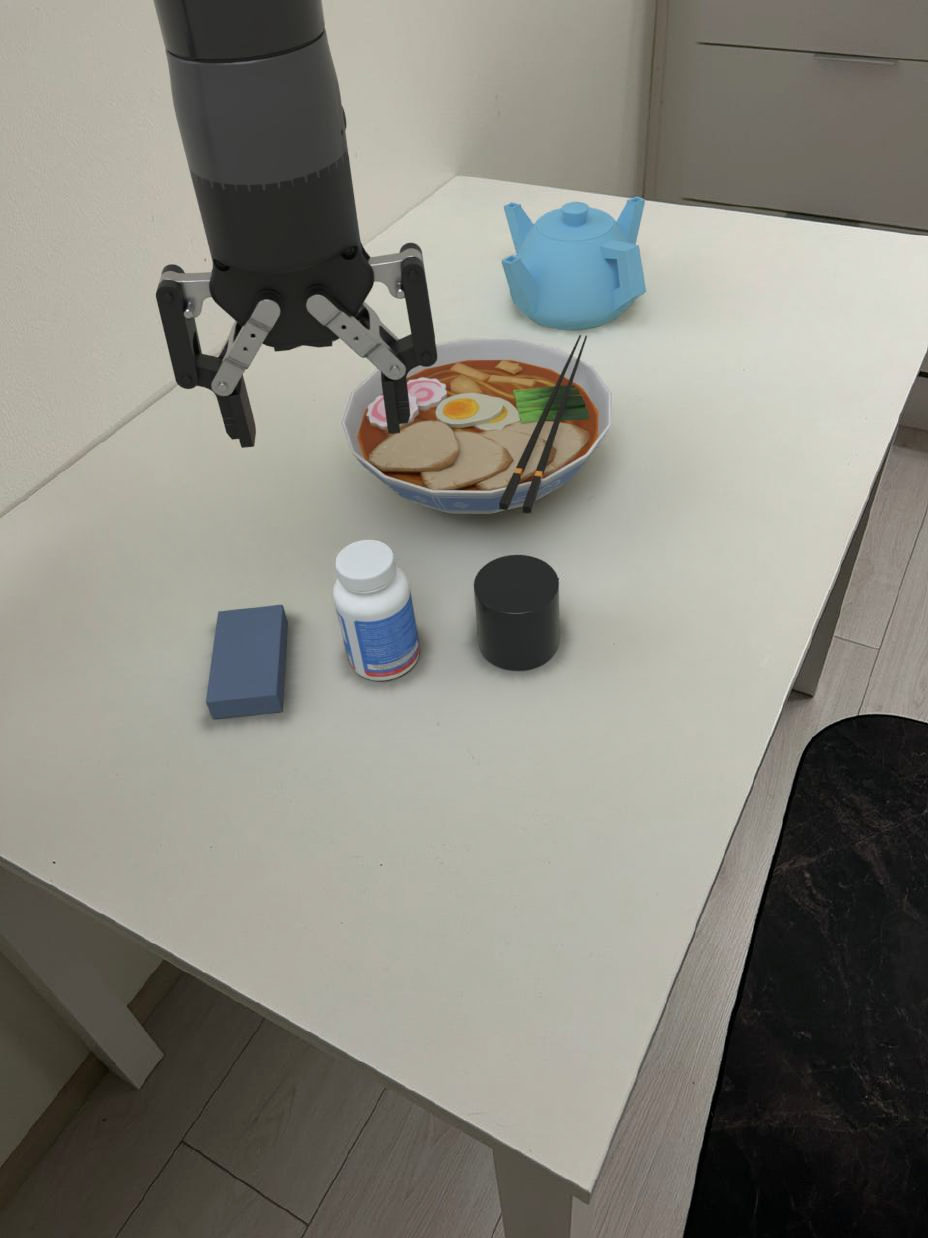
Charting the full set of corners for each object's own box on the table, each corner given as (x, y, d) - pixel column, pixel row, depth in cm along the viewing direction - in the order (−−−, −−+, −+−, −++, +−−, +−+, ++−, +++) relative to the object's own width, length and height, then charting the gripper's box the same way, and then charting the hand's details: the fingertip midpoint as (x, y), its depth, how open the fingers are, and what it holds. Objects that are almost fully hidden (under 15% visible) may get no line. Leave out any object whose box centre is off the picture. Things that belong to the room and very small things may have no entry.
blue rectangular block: (282, 712, 69) (276, 694, 68) (212, 719, 69) (205, 702, 68) (288, 622, 76) (282, 604, 74) (224, 628, 76) (217, 611, 74)
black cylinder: (468, 662, 71) (462, 605, 67) (491, 606, 75) (487, 548, 71) (548, 677, 70) (547, 620, 66) (567, 619, 74) (567, 561, 69)
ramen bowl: (409, 386, 98) (399, 311, 92) (635, 413, 92) (641, 335, 86) (307, 549, 81) (288, 471, 75) (574, 595, 75) (576, 514, 70)
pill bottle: (434, 645, 73) (421, 548, 66) (392, 693, 70) (373, 597, 63) (376, 619, 75) (358, 523, 68) (333, 665, 72) (309, 569, 65)
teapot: (497, 340, 102) (492, 241, 95) (506, 272, 113) (503, 178, 105) (644, 338, 101) (651, 237, 93) (640, 270, 111) (646, 173, 103)
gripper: (100, 191, 43) (194, 484, 54) (422, 161, 43) (447, 459, 55) (127, 130, 48) (207, 409, 60) (413, 104, 48) (438, 386, 60)
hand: (322, 432), depth 57 cm, fingers open, 8 cm apart
